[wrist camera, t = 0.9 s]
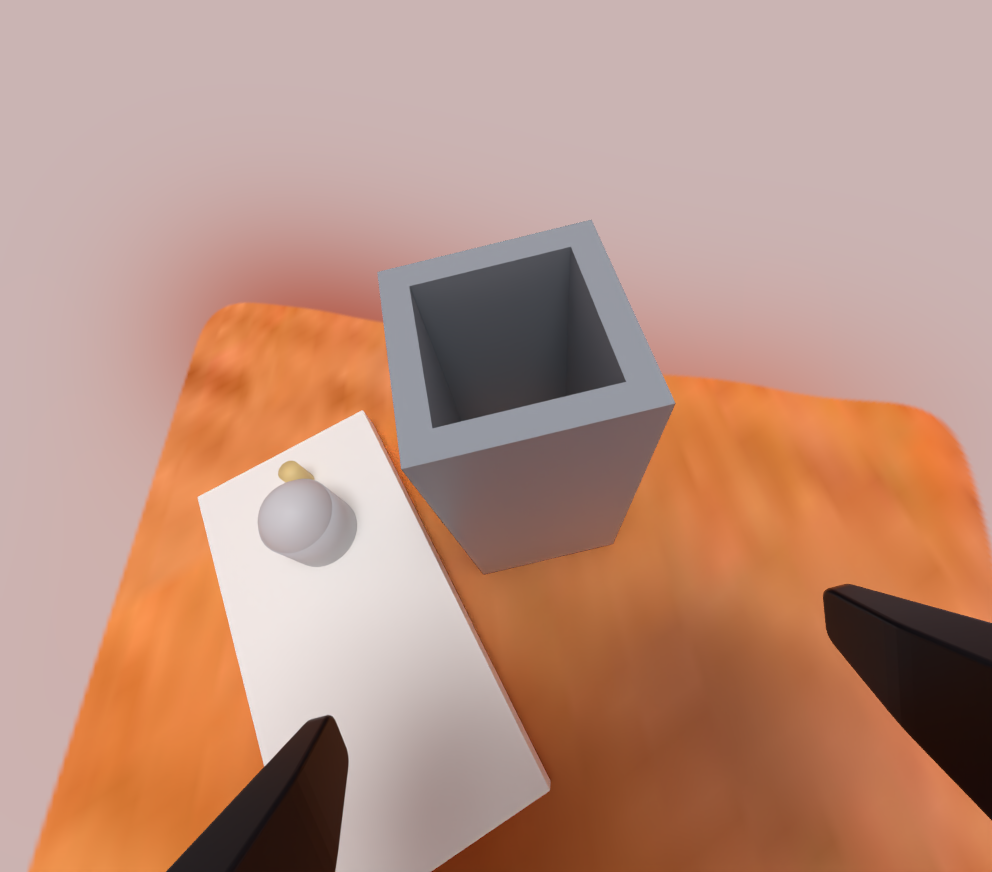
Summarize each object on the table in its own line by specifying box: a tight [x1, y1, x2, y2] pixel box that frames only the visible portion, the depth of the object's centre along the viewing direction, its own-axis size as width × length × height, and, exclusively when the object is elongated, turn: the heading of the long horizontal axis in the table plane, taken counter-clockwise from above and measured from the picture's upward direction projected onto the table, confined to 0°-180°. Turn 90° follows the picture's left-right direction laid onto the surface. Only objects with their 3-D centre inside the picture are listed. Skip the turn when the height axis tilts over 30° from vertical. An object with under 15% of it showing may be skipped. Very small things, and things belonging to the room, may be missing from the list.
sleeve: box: [378, 220, 675, 574], centre depth 17 cm, size 6×6×12 cm
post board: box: [198, 410, 551, 872], centre depth 18 cm, size 18×9×5 cm, turn 30°
